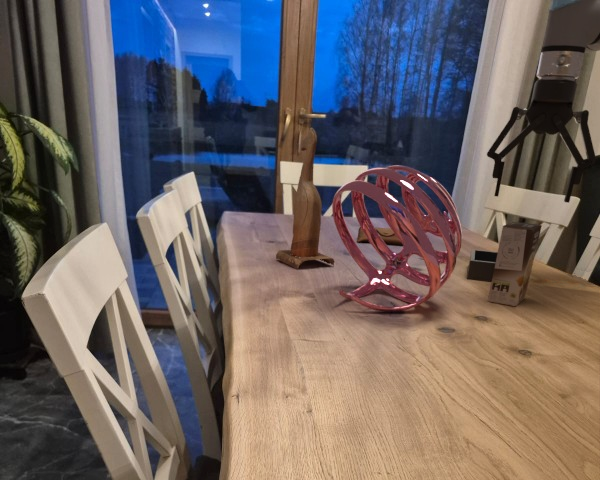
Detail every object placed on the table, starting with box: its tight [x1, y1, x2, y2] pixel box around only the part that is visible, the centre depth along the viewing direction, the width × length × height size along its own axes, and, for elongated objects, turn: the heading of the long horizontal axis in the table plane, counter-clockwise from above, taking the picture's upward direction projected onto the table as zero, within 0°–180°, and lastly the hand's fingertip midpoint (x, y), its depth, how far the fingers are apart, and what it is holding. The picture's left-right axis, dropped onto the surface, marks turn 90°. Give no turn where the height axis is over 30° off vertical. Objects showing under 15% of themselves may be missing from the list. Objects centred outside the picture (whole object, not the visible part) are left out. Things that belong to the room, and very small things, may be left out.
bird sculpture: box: [275, 127, 335, 270], centre depth 142 cm, size 11×12×32 cm
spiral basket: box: [331, 164, 463, 313], centre depth 114 cm, size 28×28×27 cm
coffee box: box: [487, 221, 543, 307], centre depth 124 cm, size 9×6×16 cm
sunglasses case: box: [356, 226, 403, 247], centre depth 180 cm, size 18×7×7 cm
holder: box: [466, 248, 498, 283], centre depth 147 cm, size 12×15×5 cm
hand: (530, 198), depth 117 cm, fingers open, 13 cm apart
